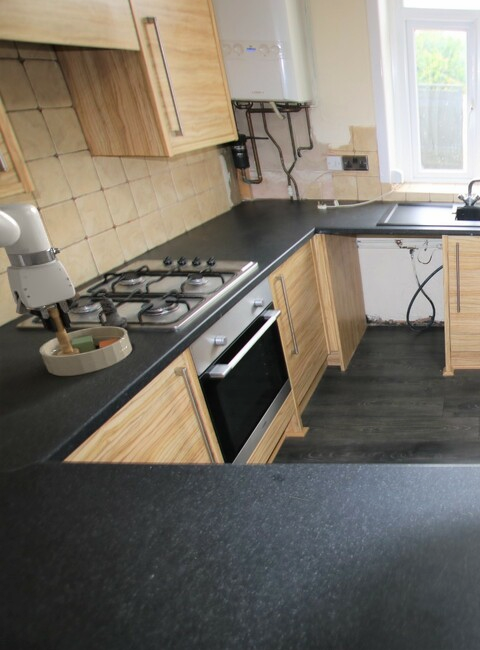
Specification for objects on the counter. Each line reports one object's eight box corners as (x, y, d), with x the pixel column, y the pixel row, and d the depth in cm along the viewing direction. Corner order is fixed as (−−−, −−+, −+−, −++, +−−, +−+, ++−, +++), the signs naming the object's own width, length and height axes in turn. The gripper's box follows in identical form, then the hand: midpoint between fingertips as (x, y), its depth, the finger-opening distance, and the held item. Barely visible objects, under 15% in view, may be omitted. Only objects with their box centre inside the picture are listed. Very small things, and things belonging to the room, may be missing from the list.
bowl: (45, 385, 113) (36, 363, 110) (50, 357, 125) (42, 336, 123) (134, 364, 123) (128, 344, 120) (131, 340, 135) (125, 321, 133)
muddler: (59, 364, 118) (40, 313, 112) (60, 358, 120) (40, 307, 115) (81, 359, 120) (62, 309, 114) (80, 353, 123) (62, 304, 117)
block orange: (104, 361, 122) (99, 347, 121) (103, 355, 125) (99, 341, 124) (123, 356, 125) (119, 343, 123) (122, 351, 127) (118, 337, 126)
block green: (76, 358, 123) (71, 344, 122) (77, 352, 126) (72, 339, 124) (96, 354, 126) (91, 340, 124) (96, 348, 128) (91, 335, 127)
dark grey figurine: (107, 339, 135) (90, 301, 130) (106, 332, 139) (89, 295, 134) (132, 333, 138) (117, 296, 133) (130, 325, 142) (115, 289, 137)
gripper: (63, 247, 118) (86, 315, 125) (-23, 264, 104) (9, 339, 111) (81, 251, 115) (104, 320, 122) (-4, 269, 102) (28, 345, 109)
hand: (59, 328), depth 117 cm, fingers closed on muddler, 2 cm apart
